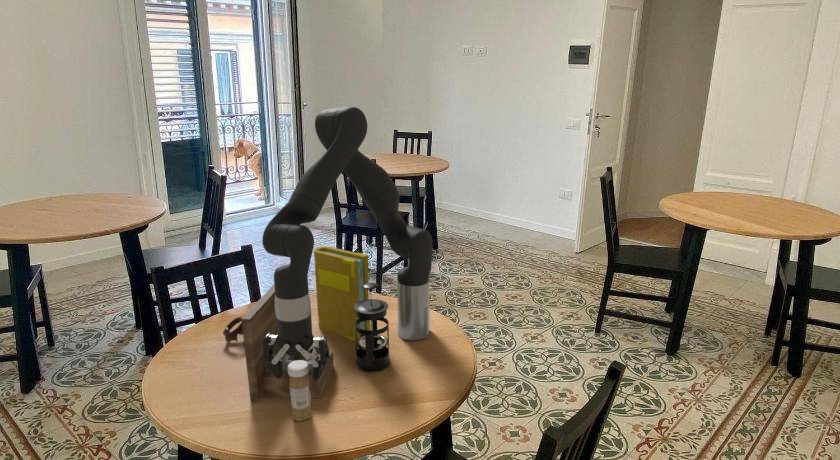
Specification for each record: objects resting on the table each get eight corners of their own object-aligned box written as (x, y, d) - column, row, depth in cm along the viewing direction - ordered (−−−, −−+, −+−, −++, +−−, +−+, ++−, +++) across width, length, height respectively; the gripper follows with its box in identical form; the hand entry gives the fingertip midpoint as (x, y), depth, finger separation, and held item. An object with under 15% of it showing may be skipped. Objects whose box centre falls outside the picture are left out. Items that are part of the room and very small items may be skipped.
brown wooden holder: (336, 361, 147) (332, 287, 140) (315, 405, 128) (309, 322, 121) (279, 358, 148) (273, 284, 142) (250, 401, 129) (241, 318, 123)
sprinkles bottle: (313, 409, 126) (310, 359, 122) (309, 422, 122) (305, 370, 118) (294, 409, 126) (290, 359, 122) (289, 422, 122) (285, 370, 118)
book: (370, 332, 163) (368, 254, 155) (356, 342, 157) (353, 261, 150) (328, 319, 171) (324, 244, 164) (313, 327, 166) (308, 251, 158)
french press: (358, 352, 152) (355, 276, 145) (391, 352, 151) (390, 276, 144) (352, 375, 140) (348, 294, 134) (387, 376, 140) (386, 294, 133)
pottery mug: (258, 350, 154) (240, 330, 150) (232, 360, 157) (214, 341, 153) (270, 321, 164) (254, 302, 160) (246, 331, 167) (229, 313, 163)
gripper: (330, 306, 119) (333, 371, 124) (268, 303, 121) (273, 367, 126) (320, 321, 112) (324, 389, 117) (254, 318, 114) (260, 385, 118)
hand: (297, 378), depth 121 cm, fingers open, 8 cm apart
